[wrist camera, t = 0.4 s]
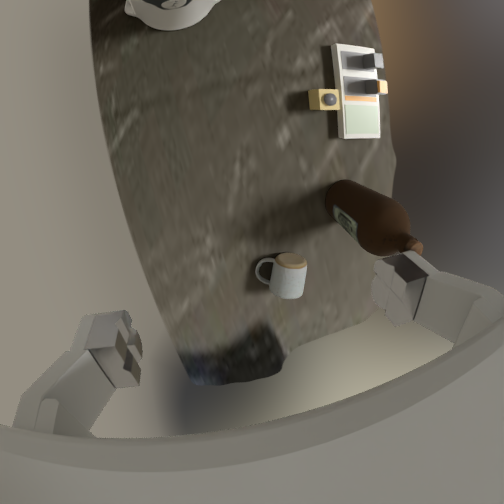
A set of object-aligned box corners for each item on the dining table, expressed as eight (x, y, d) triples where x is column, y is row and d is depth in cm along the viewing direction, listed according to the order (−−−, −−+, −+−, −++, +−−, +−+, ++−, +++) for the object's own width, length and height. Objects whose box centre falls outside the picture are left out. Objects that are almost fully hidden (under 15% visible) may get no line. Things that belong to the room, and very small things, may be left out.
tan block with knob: (308, 90, 47) (320, 88, 42) (326, 90, 48) (339, 89, 43) (309, 109, 49) (321, 110, 44) (328, 109, 50) (341, 109, 45)
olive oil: (352, 167, 57) (432, 206, 35) (369, 204, 62) (442, 254, 40) (314, 194, 58) (381, 248, 36) (335, 230, 63) (398, 292, 41)
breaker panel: (330, 45, 43) (336, 43, 41) (367, 50, 44) (374, 48, 42) (338, 137, 53) (344, 138, 51) (373, 136, 54) (380, 138, 52)
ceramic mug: (301, 250, 64) (314, 267, 57) (296, 280, 67) (307, 299, 61) (255, 250, 62) (263, 269, 55) (253, 282, 65) (259, 302, 59)
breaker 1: (362, 55, 42) (373, 52, 39) (370, 56, 42) (381, 54, 39) (364, 68, 44) (375, 67, 40) (372, 69, 44) (383, 68, 40)
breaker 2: (365, 79, 45) (378, 78, 41) (373, 80, 45) (387, 80, 41) (366, 93, 46) (380, 93, 42) (374, 94, 47) (388, 94, 42)
